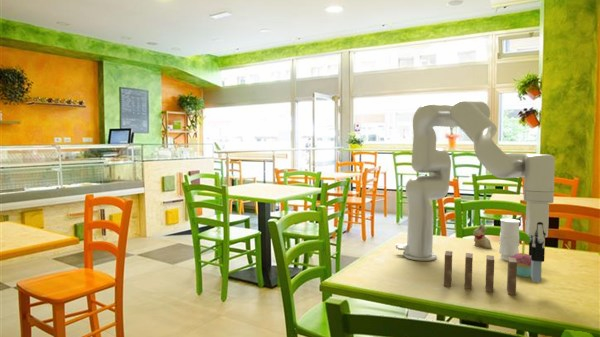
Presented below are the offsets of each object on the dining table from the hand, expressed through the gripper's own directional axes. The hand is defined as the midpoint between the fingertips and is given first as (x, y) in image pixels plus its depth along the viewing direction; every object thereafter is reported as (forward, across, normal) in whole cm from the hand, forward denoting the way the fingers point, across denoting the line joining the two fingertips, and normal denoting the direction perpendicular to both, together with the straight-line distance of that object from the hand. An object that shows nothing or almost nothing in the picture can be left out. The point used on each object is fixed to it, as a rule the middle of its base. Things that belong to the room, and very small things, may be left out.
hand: (536, 257), depth 120 cm
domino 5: (+6, 0, 0) cm, 6 cm away
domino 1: (+11, 0, -24) cm, 27 cm away
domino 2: (+11, 0, -18) cm, 21 cm away
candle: (+11, -39, -4) cm, 41 cm away
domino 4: (+11, 0, -6) cm, 13 cm away
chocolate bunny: (+11, -55, -13) cm, 58 cm away
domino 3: (+11, 0, -12) cm, 17 cm away
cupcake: (+11, -20, -1) cm, 23 cm away
